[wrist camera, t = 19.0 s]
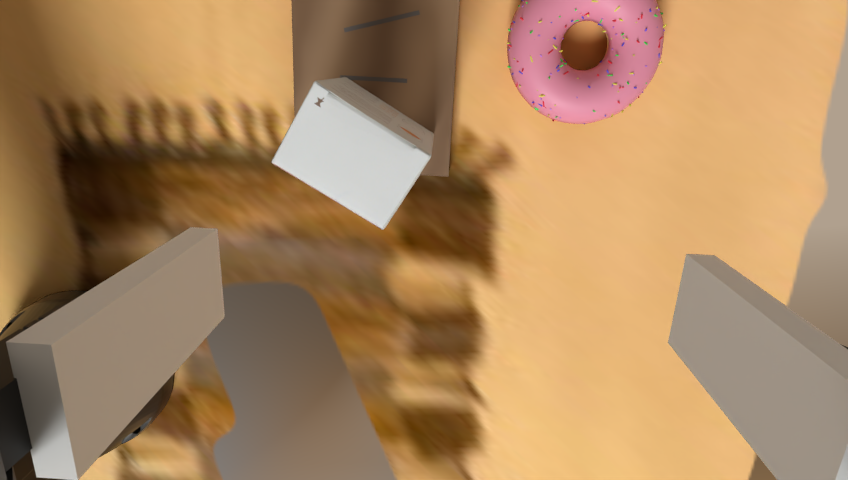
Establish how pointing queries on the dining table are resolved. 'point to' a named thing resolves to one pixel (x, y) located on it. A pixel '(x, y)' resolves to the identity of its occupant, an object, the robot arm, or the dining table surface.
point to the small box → (355, 149)
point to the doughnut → (584, 89)
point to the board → (384, 57)
